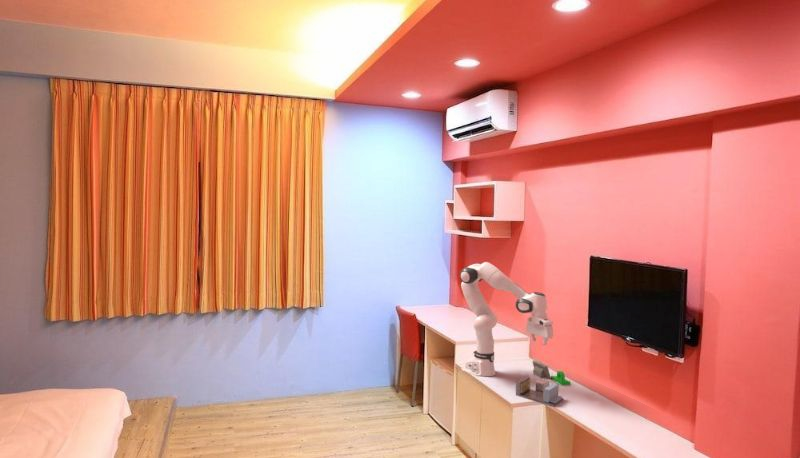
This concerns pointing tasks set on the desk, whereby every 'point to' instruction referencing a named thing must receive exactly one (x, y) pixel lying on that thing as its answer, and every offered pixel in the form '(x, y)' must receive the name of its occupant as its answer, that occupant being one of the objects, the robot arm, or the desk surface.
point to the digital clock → (540, 370)
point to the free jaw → (551, 393)
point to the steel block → (541, 385)
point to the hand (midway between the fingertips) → (539, 342)
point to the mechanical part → (560, 378)
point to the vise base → (531, 392)
